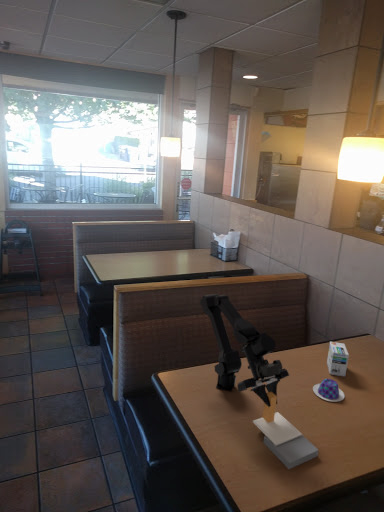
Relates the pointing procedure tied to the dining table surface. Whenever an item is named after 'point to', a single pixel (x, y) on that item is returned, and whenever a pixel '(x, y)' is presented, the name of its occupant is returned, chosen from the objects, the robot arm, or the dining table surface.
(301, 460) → the gray carton
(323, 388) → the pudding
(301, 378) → the dining table surface
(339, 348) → the light bulb box
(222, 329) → the robot arm
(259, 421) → the lid
